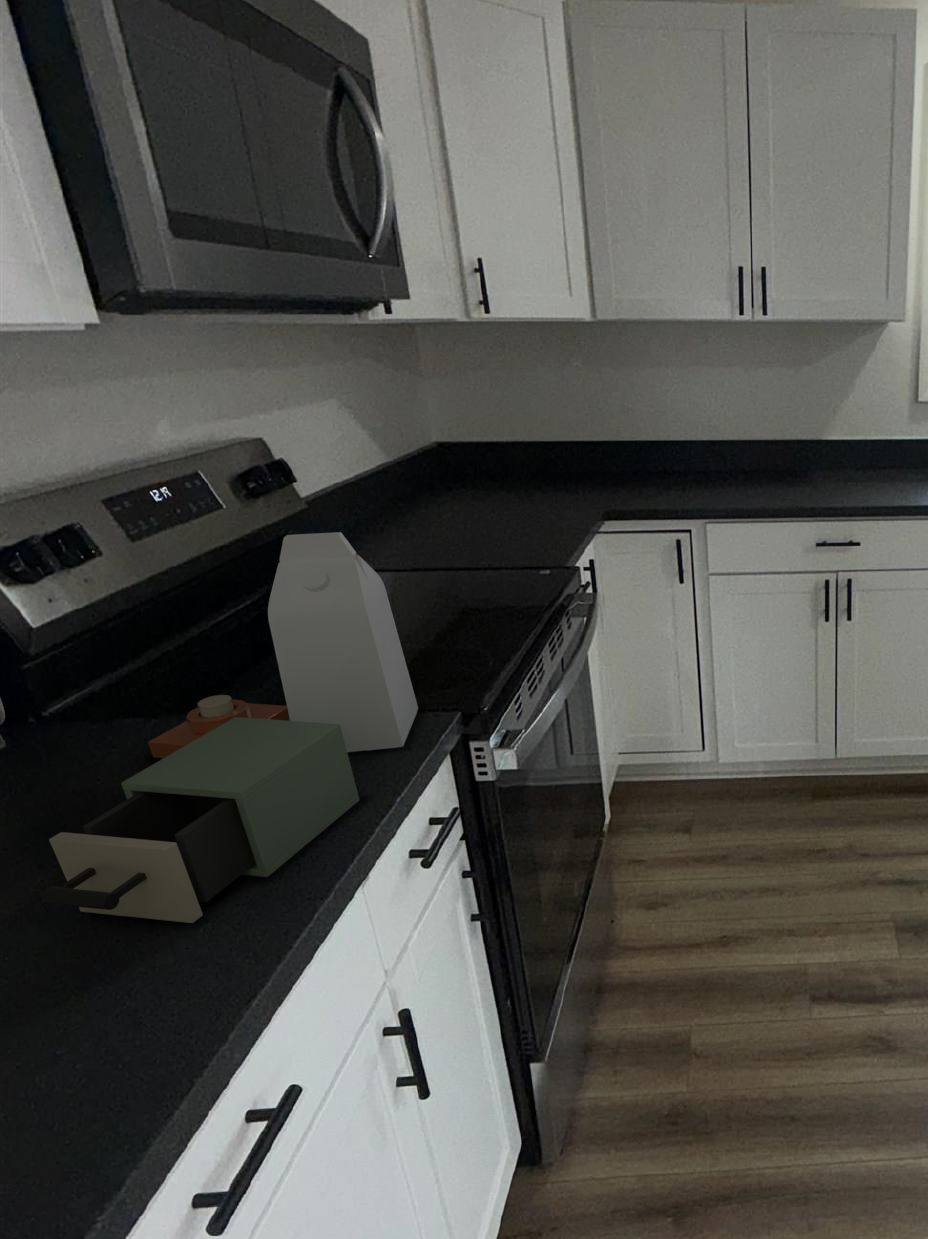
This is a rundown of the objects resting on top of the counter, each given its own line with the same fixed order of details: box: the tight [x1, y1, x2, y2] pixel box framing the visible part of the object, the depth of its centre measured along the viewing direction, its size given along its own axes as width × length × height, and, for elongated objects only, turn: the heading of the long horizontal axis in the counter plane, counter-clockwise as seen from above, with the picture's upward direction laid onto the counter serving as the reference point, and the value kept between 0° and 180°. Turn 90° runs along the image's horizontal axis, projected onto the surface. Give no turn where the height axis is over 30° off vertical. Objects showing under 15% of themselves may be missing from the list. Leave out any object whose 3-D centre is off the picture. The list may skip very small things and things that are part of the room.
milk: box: [267, 531, 419, 753], centre depth 109 cm, size 12×12×26 cm
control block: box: [147, 699, 290, 759], centre depth 112 cm, size 12×10×4 cm
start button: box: [197, 694, 235, 718], centre depth 111 cm, size 4×4×2 cm
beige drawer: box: [40, 791, 256, 924], centre depth 81 cm, size 18×11×8 cm, turn 172°
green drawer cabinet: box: [120, 717, 360, 878], centre depth 91 cm, size 15×13×10 cm
